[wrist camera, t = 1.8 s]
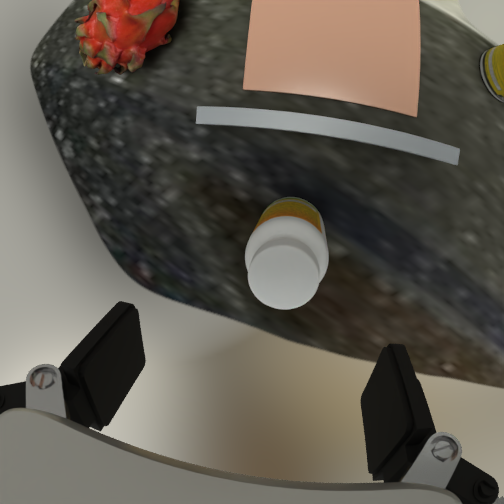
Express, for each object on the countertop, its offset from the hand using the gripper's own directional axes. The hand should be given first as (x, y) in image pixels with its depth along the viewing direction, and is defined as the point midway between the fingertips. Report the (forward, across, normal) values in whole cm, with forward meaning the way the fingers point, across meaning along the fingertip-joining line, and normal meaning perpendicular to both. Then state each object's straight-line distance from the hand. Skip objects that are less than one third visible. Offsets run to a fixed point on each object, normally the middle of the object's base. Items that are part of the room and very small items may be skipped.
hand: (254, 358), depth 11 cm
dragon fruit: (+17, +14, -18) cm, 28 cm away
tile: (+16, -3, -18) cm, 24 cm away
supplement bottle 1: (+16, -1, 0) cm, 16 cm away
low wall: (+16, -3, -9) cm, 19 cm away
